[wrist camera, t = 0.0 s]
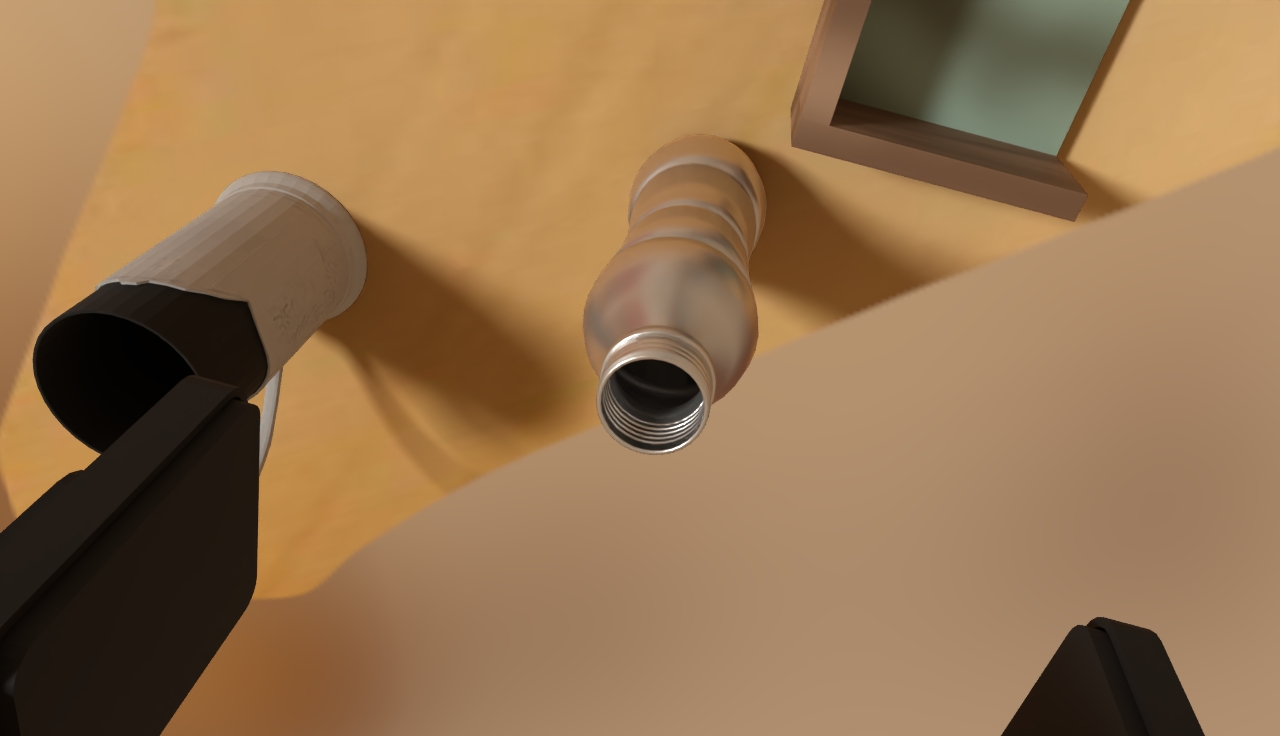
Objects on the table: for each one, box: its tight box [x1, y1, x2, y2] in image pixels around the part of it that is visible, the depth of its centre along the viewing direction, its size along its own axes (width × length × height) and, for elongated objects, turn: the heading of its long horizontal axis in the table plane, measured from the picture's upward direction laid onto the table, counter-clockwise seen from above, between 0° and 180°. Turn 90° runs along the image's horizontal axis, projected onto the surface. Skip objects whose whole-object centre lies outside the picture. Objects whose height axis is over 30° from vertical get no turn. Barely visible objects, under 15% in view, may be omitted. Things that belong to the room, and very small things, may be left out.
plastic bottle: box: [583, 134, 767, 455], centre depth 38 cm, size 6×7×20 cm
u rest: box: [791, 0, 1130, 222], centre depth 38 cm, size 12×12×6 cm
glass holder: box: [33, 171, 367, 476], centre depth 46 cm, size 9×14×15 cm, turn 1°
